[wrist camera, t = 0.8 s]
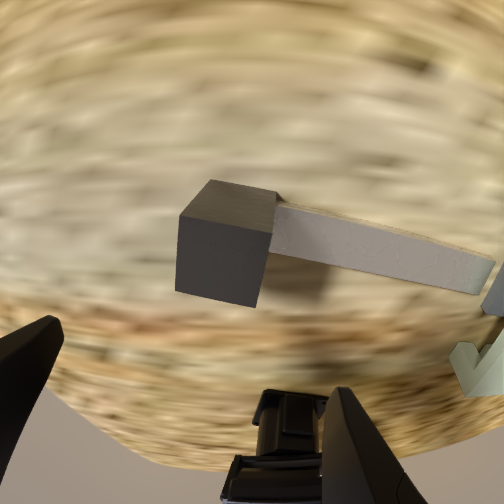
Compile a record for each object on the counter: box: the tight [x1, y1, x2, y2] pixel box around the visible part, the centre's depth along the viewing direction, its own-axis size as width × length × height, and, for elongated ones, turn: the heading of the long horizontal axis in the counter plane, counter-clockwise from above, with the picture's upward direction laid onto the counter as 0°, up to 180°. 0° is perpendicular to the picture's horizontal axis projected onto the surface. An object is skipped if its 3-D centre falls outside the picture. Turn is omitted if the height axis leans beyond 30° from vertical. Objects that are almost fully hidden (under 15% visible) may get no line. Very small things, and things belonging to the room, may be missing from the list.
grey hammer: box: [175, 179, 496, 308], centre depth 16 cm, size 4×21×6 cm, turn 80°
